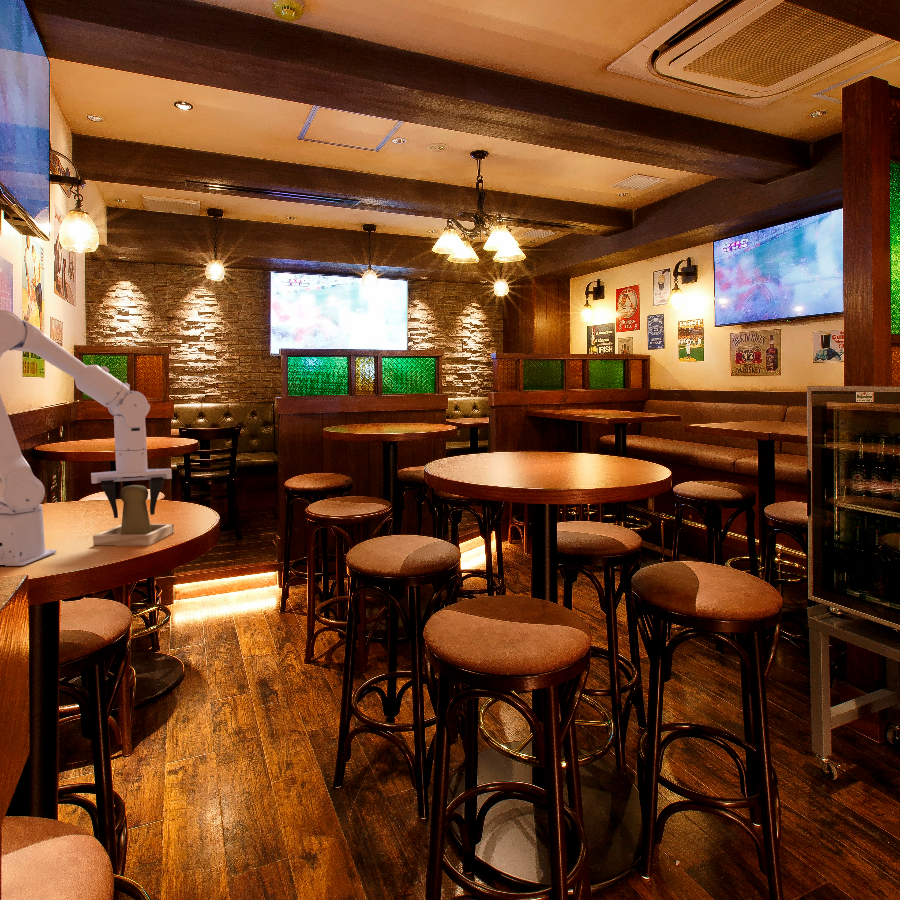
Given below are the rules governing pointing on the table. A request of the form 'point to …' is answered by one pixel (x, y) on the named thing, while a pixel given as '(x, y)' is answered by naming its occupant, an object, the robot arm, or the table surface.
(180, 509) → the table surface
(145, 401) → the robot arm
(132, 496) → the cork
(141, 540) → the open square wooden box
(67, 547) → the table surface
